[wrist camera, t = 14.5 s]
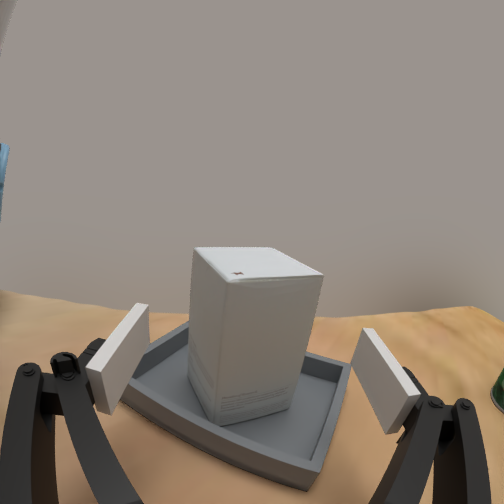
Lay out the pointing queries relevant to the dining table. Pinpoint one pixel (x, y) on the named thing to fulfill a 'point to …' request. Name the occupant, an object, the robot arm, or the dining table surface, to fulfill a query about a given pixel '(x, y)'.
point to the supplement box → (248, 330)
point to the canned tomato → (498, 392)
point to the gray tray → (247, 432)
